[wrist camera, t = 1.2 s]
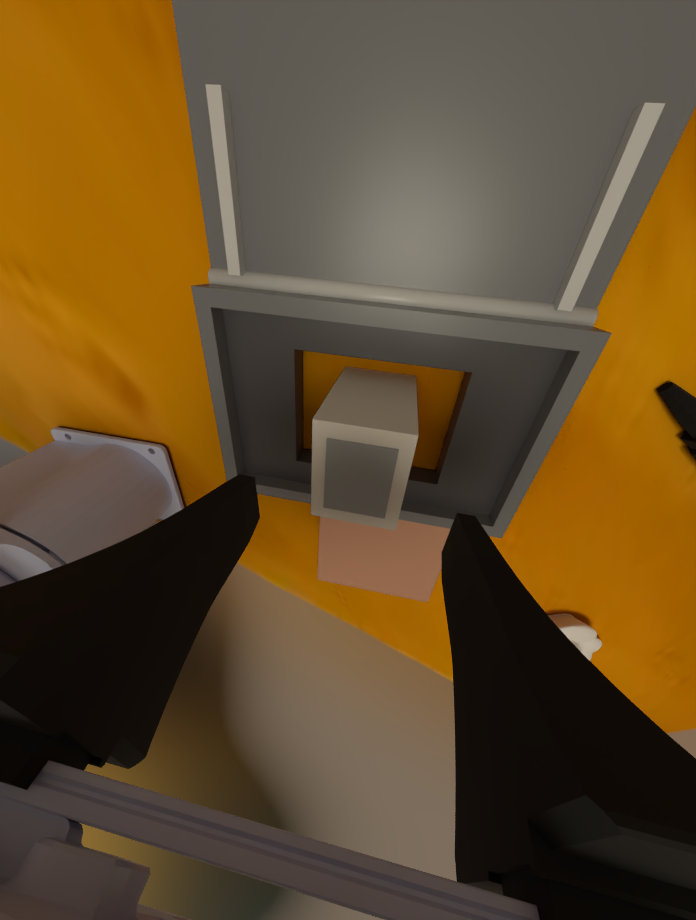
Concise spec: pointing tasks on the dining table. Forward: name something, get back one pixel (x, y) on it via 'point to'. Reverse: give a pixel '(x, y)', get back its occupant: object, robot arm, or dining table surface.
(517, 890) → the robot arm
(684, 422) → the microphone
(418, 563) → the terracotta tile
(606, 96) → the equipment case
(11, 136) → the dining table surface
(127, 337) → the dining table surface
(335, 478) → the block
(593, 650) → the rose
